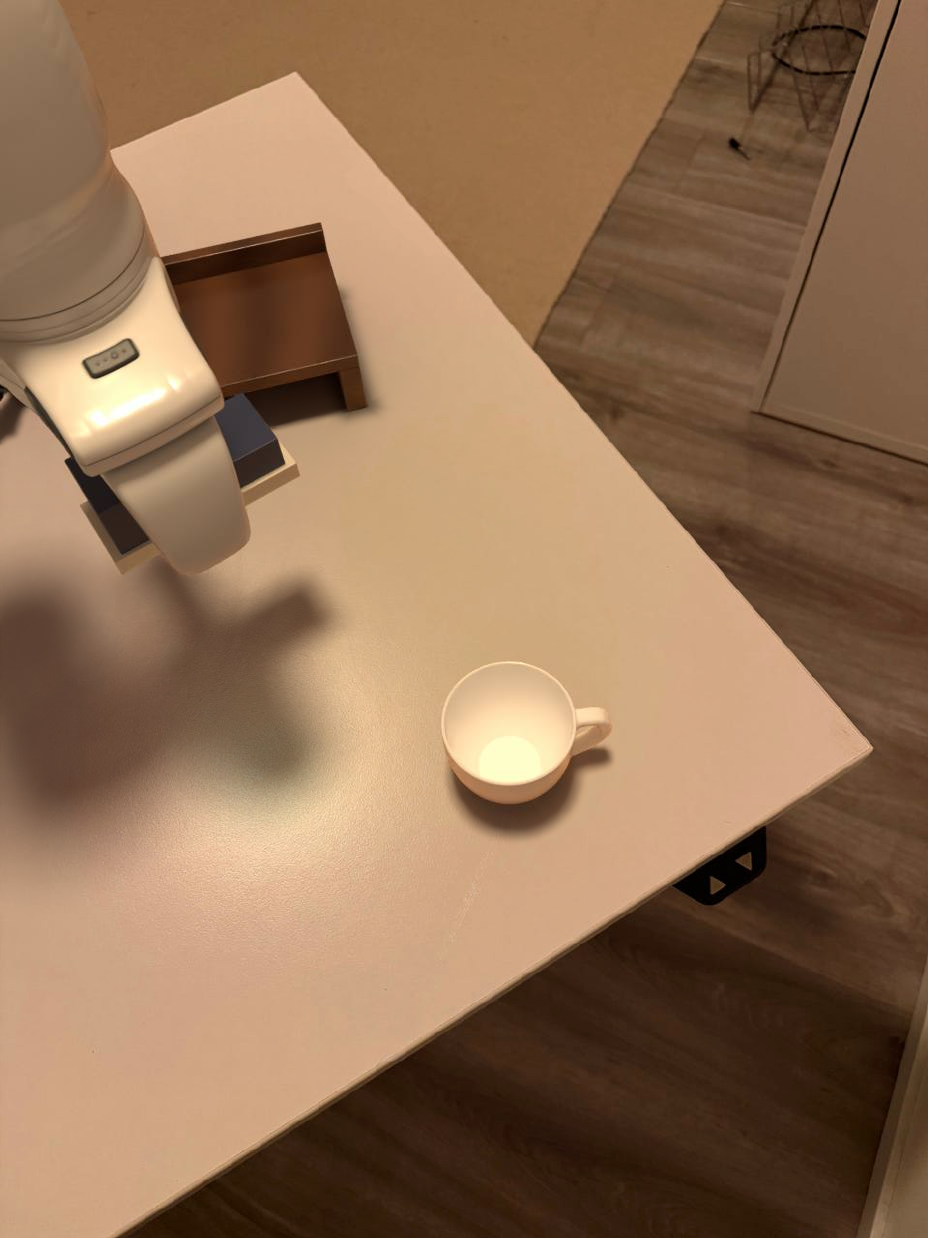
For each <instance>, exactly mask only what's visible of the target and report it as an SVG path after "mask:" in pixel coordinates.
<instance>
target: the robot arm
mask: <svg viewBox="0 0 928 1238" xmlns="http://www.w3.org/2000/svg"><path fill="white" fill-rule="evenodd" d="M161 257H162V256H161V255H160V252H159V249H158V247H157V245H156V242H155V240H154V237H153V234H152V231H151V229H150V227H149V224H148V220H147V218H146V215H145V213H144V210H143V208H142V205H141V202H140V200H139V197H138V196H137V194H136V191H135V190H134V188H133V187H132V185H131V184H130V182H129V181H128V180H127V178H126V177H125V176H124V175H123V174H122V173H121V172H120V170H119V168H118V167H117V166H116V164H115V162H114V159H113V156H112V152H111V138H110V126H109V121H108V116H107V113H106V110H105V107H104V104H103V102H102V99H101V96H100V94H99V91H98V88H97V86H96V83H95V81H94V79H93V76H92V74H91V71H90V69H89V66H88V64H87V61H86V59H85V56H84V54H83V51H82V49H81V46H80V44H79V42H78V40H77V37H76V35H75V33H74V31H73V29H72V26H71V24H70V22H69V20H68V17H67V14H66V13H65V11H64V8H63V7H62V5H61V3H60V0H0V384H1V385H2V386H4V387H6V388H7V389H8V391H9V392H10V393H11V395H12V396H14V397H15V398H16V399H18V401H20V402H21V403H22V404H23V405H25V406H26V407H27V408H28V409H29V410H31V411H32V412H33V413H34V414H35V415H37V416H38V417H39V419H40V420H41V421H42V422H43V424H44V425H45V426H46V427H47V429H49V431H50V432H51V433H52V434H53V435H54V436H55V437H56V439H57V440H58V441H59V443H60V444H61V446H62V447H63V448H64V451H66V452H67V454H68V456H69V457H71V458H72V459H75V460H76V461H77V463H78V464H79V466H80V468H81V469H82V471H83V472H84V473H85V474H86V475H88V476H90V477H94V476H97V475H99V474H100V475H101V477H102V478H103V479H104V480H105V482H106V483H107V484H108V486H109V487H110V488H111V489H112V491H113V492H114V493H115V495H116V496H117V497H118V498H119V500H120V501H121V502H122V504H123V505H124V506H125V507H126V509H127V510H128V511H129V513H130V514H131V515H132V517H133V518H134V519H135V521H136V522H137V523H138V524H139V526H140V527H141V528H142V530H143V531H144V532H145V534H146V535H147V536H148V537H149V539H150V540H151V541H152V543H153V544H154V545H155V546H156V548H157V549H158V550H159V552H160V553H161V554H160V555H161V556H162V557H163V558H164V560H165V561H166V562H167V563H168V564H169V565H170V566H171V567H172V568H173V569H174V570H175V571H176V572H177V573H179V574H180V575H182V576H194V575H197V574H201V573H203V572H205V571H207V570H210V569H211V568H213V567H215V566H216V565H219V564H221V563H223V562H224V561H225V560H227V559H229V558H231V557H232V556H234V555H235V554H237V553H238V552H239V551H241V550H242V549H243V548H244V547H245V546H246V545H247V544H248V542H249V541H250V538H251V534H252V533H251V532H252V530H251V522H250V518H249V515H248V511H247V506H245V503H244V499H243V496H242V492H241V489H240V485H239V482H238V478H237V475H236V472H235V468H234V465H233V462H232V459H231V456H230V453H229V450H228V447H227V444H226V442H225V439H224V437H223V435H222V432H221V430H220V427H219V425H218V423H217V421H216V419H215V417H214V414H216V413H217V412H219V411H220V410H222V409H223V408H224V401H225V398H223V394H222V391H221V388H220V386H219V383H218V381H217V379H216V377H215V375H214V373H213V371H212V370H211V367H210V365H209V363H208V361H207V359H206V357H205V355H204V354H203V352H202V350H201V349H200V347H199V345H198V344H197V342H196V340H195V339H194V337H193V335H192V333H191V331H190V330H189V328H188V326H187V324H186V322H185V320H184V318H183V316H182V314H181V311H180V307H179V304H178V300H177V297H176V294H175V292H174V289H173V286H172V283H171V281H170V278H169V276H168V273H167V270H166V268H165V266H164V264H163V262H162V260H161ZM7 389H6V390H7Z"/></svg>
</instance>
